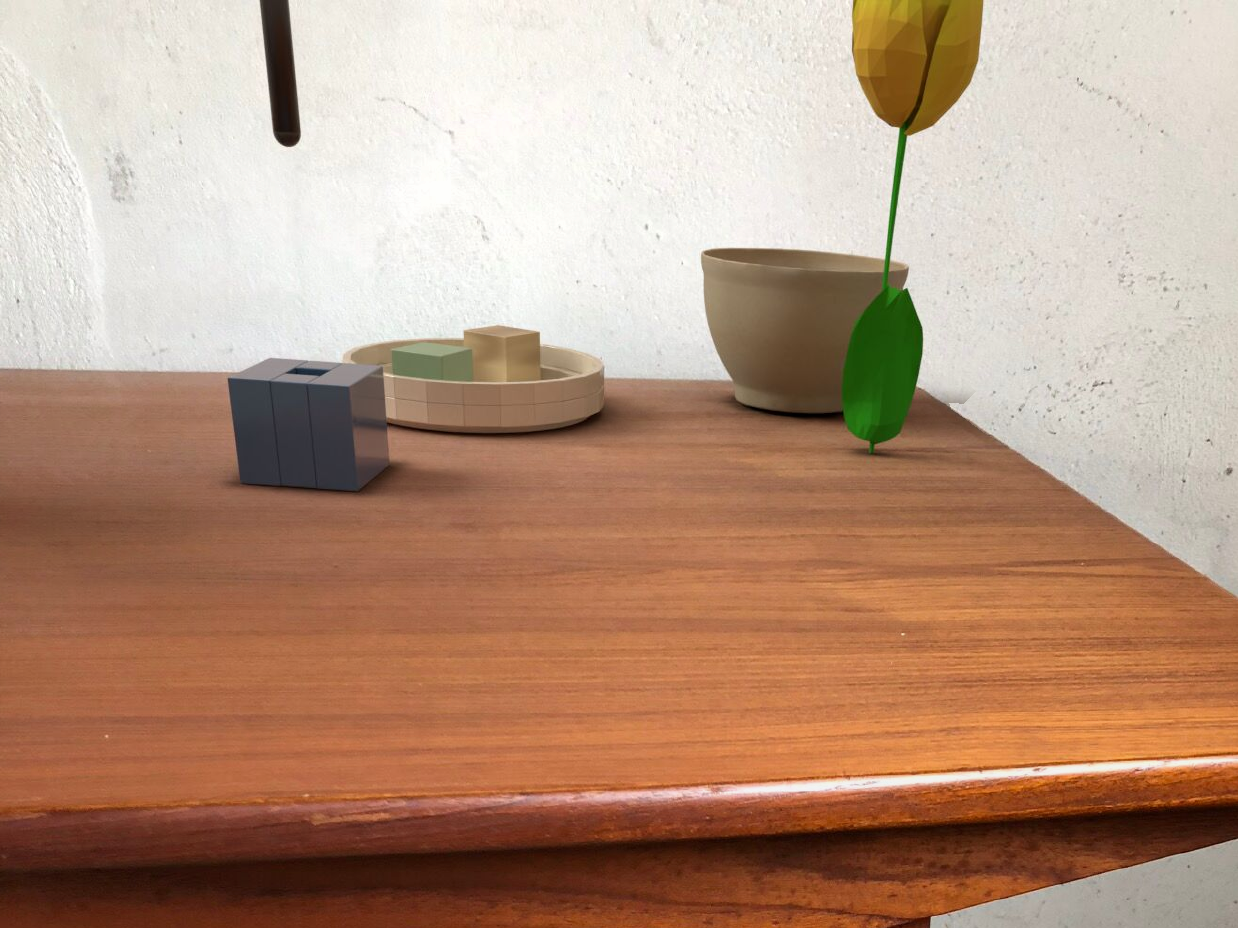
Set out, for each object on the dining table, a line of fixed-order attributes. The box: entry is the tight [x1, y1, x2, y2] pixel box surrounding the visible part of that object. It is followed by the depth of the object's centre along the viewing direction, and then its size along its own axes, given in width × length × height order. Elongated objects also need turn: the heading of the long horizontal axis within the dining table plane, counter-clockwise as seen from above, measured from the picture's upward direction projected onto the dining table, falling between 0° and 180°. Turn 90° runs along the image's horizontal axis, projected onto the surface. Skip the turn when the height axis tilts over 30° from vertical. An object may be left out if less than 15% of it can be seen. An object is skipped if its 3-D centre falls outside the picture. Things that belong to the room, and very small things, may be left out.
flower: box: [842, 0, 984, 454], centre depth 94 cm, size 9×8×30 cm
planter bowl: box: [700, 247, 910, 414], centre depth 112 cm, size 16×16×11 cm
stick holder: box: [227, 357, 391, 492], centre depth 87 cm, size 7×7×6 cm
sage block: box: [391, 342, 474, 382], centre depth 102 cm, size 4×4×4 cm
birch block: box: [462, 324, 541, 382], centre depth 111 cm, size 4×4×4 cm
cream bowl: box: [341, 337, 605, 434], centre depth 107 cm, size 19×19×4 cm
